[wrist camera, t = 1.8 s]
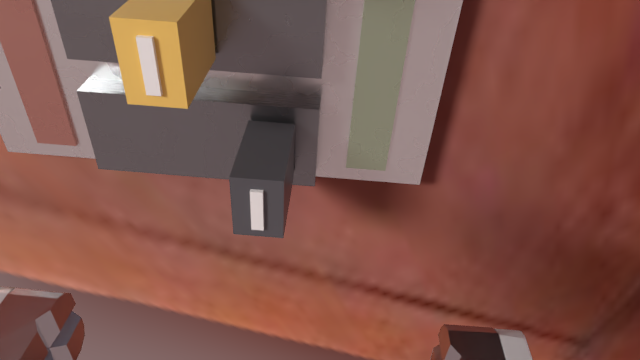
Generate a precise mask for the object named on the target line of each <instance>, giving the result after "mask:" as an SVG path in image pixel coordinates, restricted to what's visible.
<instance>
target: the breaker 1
mask: <svg viewBox="0 0 640 360" xmlns="http://www.w3.org/2000/svg"><path fill="white" fill-rule="evenodd" d="M109 20H110V25H111V30H112V34H113V39H114V44H115V48H116V53H117V57H118V62H119V67H120V71H121V76H122V81H123V85H124V90H125V95H126V99H127V104H133V105H146V106H158V107H171V108H183V109H188V108H189V106H190V104H191V102H192V101H193V99H194V97H195V95H196V93H197V92H198V90H199V88H200V86H201V84H202V83H203V81H204V79H205V77H206V75H207V74H208V72H209V70H210V68H211V66H212V65H213V63H214V61H215V59H216V54H215V42H214V30H213V18H212V6H211V0H128V1H127V2H126V3H125V4H123V5H122V6H121V7H120V8H119V9H118V10H116V11H115V12H114V13H113V14H112V15H111V16H109Z"/></svg>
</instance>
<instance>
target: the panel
mask: <svg viewBox="0 0 640 360" xmlns="http://www.w3.org/2000/svg"><path fill="white" fill-rule="evenodd" d="M127 1H128V0H0V134H1V136H2V139H3V141H4V143H5V146H6V148H7V150H8V152H20V153H32V154H45V155H57V156H70V157H82V158H94V159H96V162H97V165H98V169H107V170H119V171H131V172H144V173H156V174H168V175H181V176H193V177H205V178H218V179H229V176H230V173H231V170H232V167H233V165H234V162H235V159H236V156H237V153H238V150H239V147H240V144H241V141H242V138H243V135H244V132H245V129H246V126H247V124H248V121H249V120H250V121H263V122H276V123H288V124H295V143H294V177H293V183H292V185H304V186H315V178H316V176H318V177H330V178H343V179H355V180H367V181H380V182H392V183H405V184H417V185H420V181H421V177H422V173H423V169H424V164H425V160H426V156H427V152H428V147H429V143H430V139H431V135H432V130H433V126H434V122H435V118H436V113H437V109H438V105H439V101H440V96H441V92H442V88H443V84H444V79H445V75H446V71H447V67H448V62H449V58H450V54H451V50H452V45H453V41H454V37H455V33H456V29H457V24H458V20H459V16H460V12H461V7H462V3H463V0H211V6H212V18H213V30H214V42H215V54H216V59H215V61H214V63H213V65H212V66H211V68H210V70H209V72H208V74H207V75H206V77H205V79H204V81H203V83H202V84H201V86H200V88H199V90H198V92H197V93H196V95H195V97H194V99H193V101H192V102H191V104H190V106H189V108H188V109H183V108H171V107H158V106H146V105H133V104H127V99H126V95H125V90H124V85H123V81H122V76H121V71H120V67H119V62H118V57H117V53H116V48H115V44H114V39H113V34H112V30H111V25H110V20H109V16H111V15H112V14H113V13H114V12H115V11H116V10H118V9H119V8H120V7H121V6H122V5H123V4H125V3H126V2H127Z"/></svg>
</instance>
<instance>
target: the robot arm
mask: <svg viewBox="0 0 640 360" xmlns="http://www.w3.org/2000/svg"><path fill="white" fill-rule="evenodd" d="M75 304H76V303H75V301H74V299H73V297H72V295H71V293H62V292H52V291H41V290H32V289H23V288H14V287H2V286H0V360H77V357H78V355H79V353H80V351H81V348H82V344H83V340H84V336H85V335H84V334H85V333H84V324H83V321H82V318H81V317H80V316H78V315H77V314H76V313H74V312H73V311H72V309H73V308H74V306H75ZM438 337H439V345H438V346H436V347H434V348H433V352H432V355H431V360H533V359H532V356H531V353H530V350H529V347H528V344H527V341H526V338H525V336H524V334H523V333H522V332H521V331H518V330H506V329H493V328H490V327H475V326H461V325H446V324H444V325H443V326H442V327H441V329H440V331H439V334H438Z"/></svg>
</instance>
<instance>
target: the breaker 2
mask: <svg viewBox="0 0 640 360" xmlns="http://www.w3.org/2000/svg"><path fill="white" fill-rule="evenodd" d="M294 143H295V124H288V123H276V122H263V121H250V120H249V121H248V124H247V126H246V129H245V132H244V135H243V138H242V141H241V144H240V147H239V150H238V153H237V156H236V159H235V162H234V165H233V167H232V170H231V173H230V176H229V181H230V194H231V207H232V220H233V233H234V234H241V235H253V236H265V237H277V238H283V237H284V231H285V225H286V219H287V213H288V207H289V201H290V195H291V189H292V183H293V177H294Z"/></svg>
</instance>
